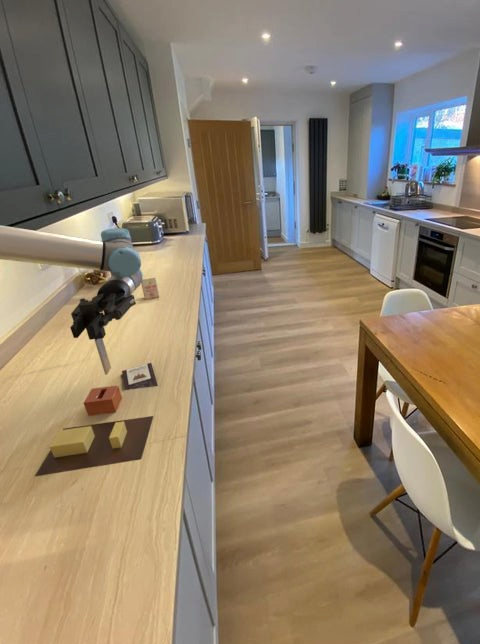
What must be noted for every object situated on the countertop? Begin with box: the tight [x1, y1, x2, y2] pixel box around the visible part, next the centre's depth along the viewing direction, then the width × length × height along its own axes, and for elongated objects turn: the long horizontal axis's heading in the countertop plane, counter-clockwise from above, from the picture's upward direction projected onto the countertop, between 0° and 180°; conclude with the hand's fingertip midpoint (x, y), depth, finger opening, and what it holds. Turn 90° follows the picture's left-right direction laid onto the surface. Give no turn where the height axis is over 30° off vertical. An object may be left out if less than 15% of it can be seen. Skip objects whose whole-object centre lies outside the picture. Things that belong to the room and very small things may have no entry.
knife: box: [78, 301, 112, 375], centre depth 78 cm, size 3×3×19 cm
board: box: [34, 415, 154, 478], centre depth 79 cm, size 22×14×2 cm, turn 102°
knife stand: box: [83, 385, 123, 417], centre depth 90 cm, size 7×6×6 cm
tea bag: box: [140, 277, 160, 301], centre depth 163 cm, size 4×7×10 cm, turn 116°
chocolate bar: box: [121, 362, 159, 391], centre depth 101 cm, size 9×1×18 cm
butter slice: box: [109, 421, 127, 449], centre depth 79 cm, size 2×5×4 cm, turn 12°
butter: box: [49, 426, 95, 458], centre depth 77 cm, size 7×5×4 cm
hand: (83, 331), depth 71 cm, fingers closed on knife, 3 cm apart
